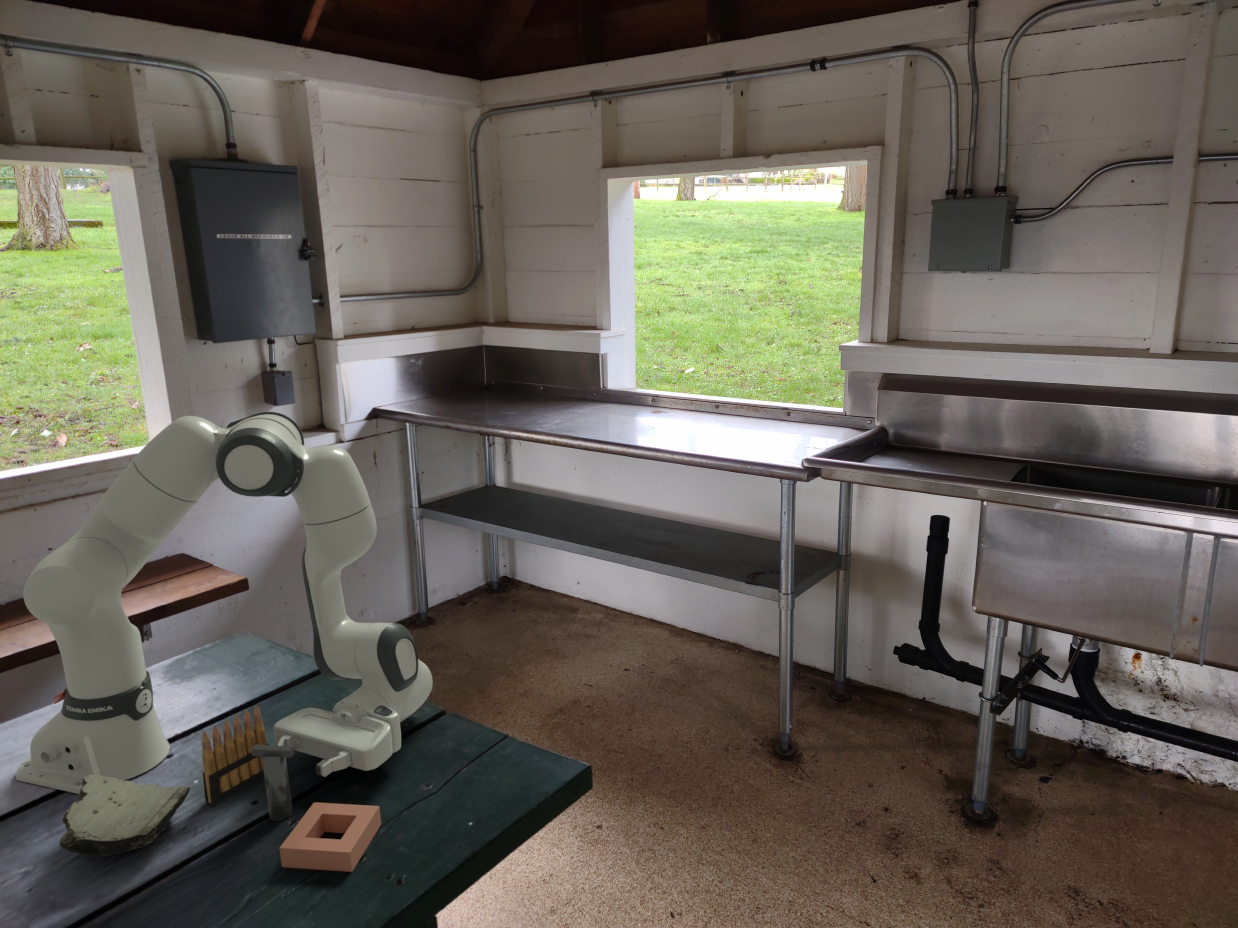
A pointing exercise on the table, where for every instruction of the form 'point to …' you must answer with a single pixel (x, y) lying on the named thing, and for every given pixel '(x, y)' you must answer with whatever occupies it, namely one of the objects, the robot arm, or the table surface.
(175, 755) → the table surface
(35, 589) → the robot arm
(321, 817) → the orange square frame
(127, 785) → the concrete fragment
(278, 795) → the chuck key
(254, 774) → the ammunition clip
